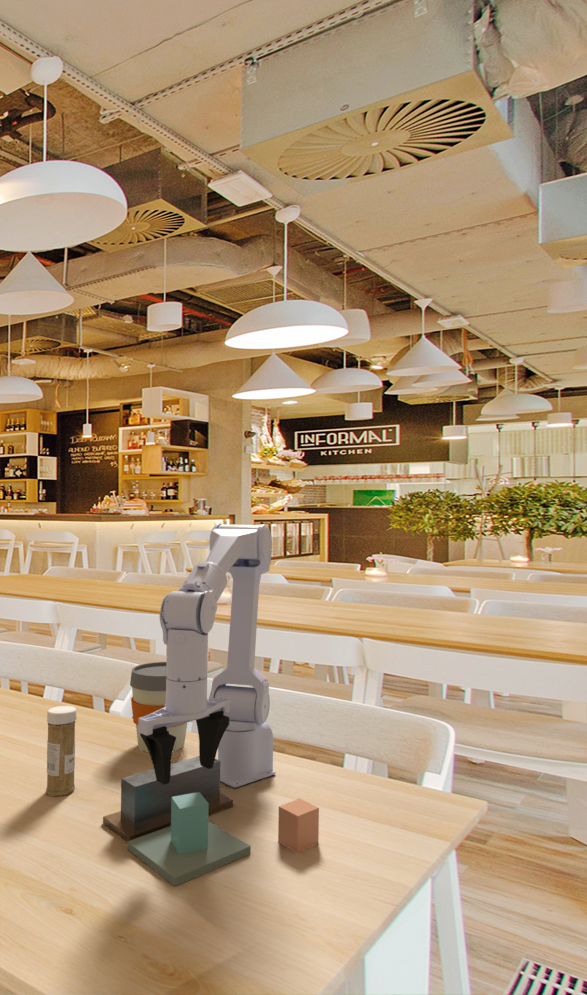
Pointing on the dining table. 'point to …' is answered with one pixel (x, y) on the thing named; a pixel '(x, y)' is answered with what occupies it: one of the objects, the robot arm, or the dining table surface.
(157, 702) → the reusable coffee cup
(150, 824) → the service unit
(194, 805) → the block
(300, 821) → the terracotta block
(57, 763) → the spice jar
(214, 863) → the pad
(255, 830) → the dining table surface
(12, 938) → the dining table surface
